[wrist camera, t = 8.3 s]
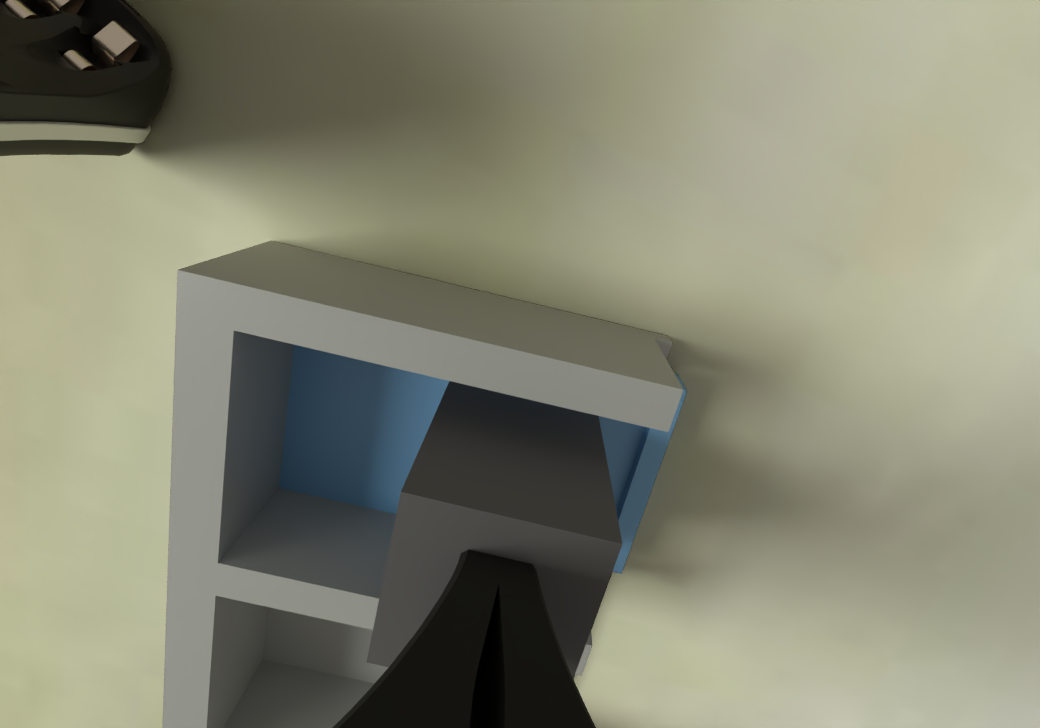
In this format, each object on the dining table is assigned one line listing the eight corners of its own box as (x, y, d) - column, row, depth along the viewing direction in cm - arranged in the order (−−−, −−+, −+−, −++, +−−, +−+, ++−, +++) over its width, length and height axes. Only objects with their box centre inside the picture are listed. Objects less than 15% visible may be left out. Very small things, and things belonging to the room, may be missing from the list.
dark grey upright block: (558, 527, 17) (563, 706, 12) (426, 496, 17) (366, 662, 12) (596, 407, 16) (622, 543, 10) (453, 372, 16) (400, 491, 10)
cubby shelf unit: (554, 728, 21) (555, 860, 17) (234, 659, 21) (161, 778, 17) (689, 341, 16) (735, 401, 12) (270, 240, 16) (177, 269, 12)
